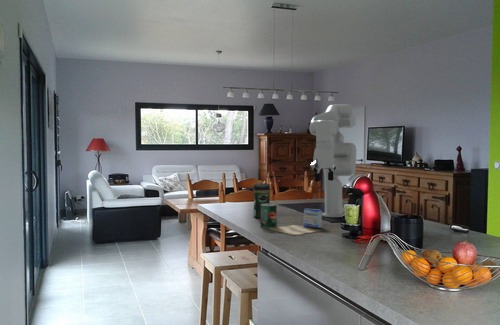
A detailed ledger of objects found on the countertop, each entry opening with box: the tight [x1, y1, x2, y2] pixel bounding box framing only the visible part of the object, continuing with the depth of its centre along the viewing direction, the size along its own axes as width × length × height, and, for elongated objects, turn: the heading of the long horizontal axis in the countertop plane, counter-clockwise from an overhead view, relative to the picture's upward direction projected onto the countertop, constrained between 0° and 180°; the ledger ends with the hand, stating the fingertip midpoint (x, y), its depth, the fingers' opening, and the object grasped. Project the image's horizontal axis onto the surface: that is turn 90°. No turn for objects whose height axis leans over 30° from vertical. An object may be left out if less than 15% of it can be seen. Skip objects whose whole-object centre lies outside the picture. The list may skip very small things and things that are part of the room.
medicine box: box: [302, 208, 323, 229], centre depth 219 cm, size 8×4×9 cm, turn 62°
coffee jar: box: [252, 182, 271, 219], centre depth 251 cm, size 10×8×19 cm
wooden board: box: [269, 224, 321, 237], centre depth 213 cm, size 16×18×1 cm
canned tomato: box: [260, 202, 278, 229], centre depth 223 cm, size 8×8×11 cm
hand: (324, 180), depth 223 cm, fingers open, 8 cm apart
